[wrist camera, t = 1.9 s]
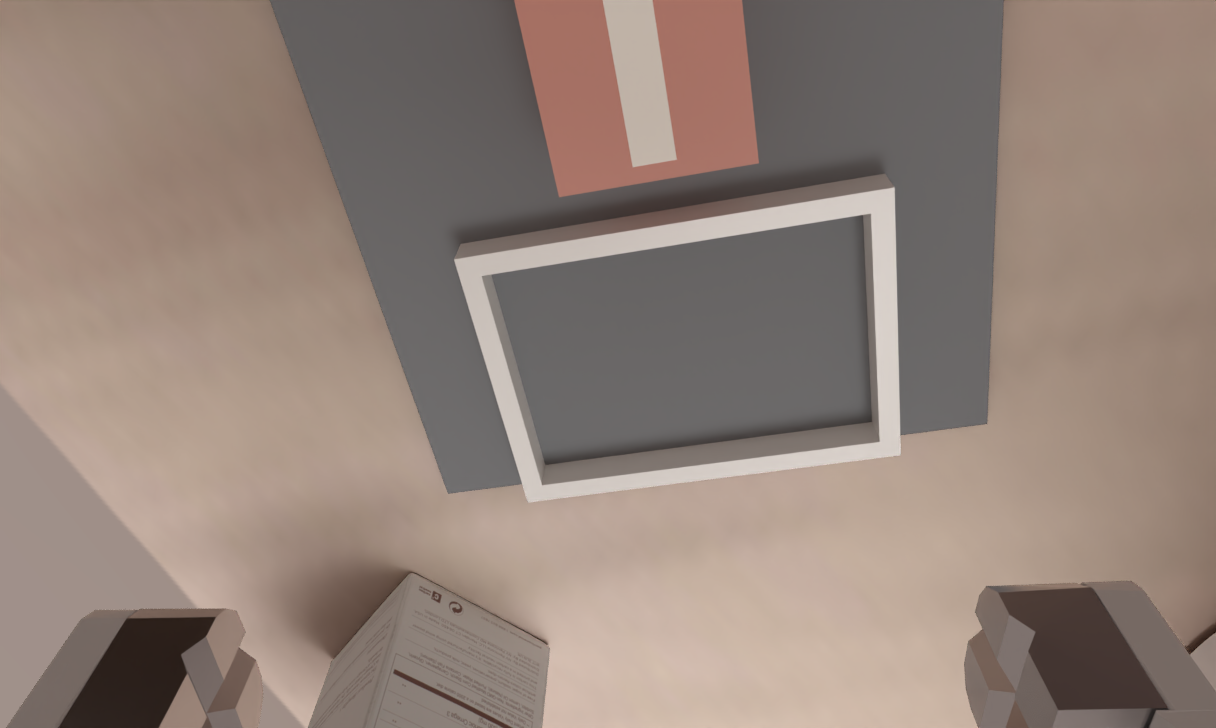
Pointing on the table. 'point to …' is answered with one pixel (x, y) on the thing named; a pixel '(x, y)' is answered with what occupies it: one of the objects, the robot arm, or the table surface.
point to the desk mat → (679, 274)
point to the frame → (679, 228)
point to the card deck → (639, 88)
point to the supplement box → (434, 667)
